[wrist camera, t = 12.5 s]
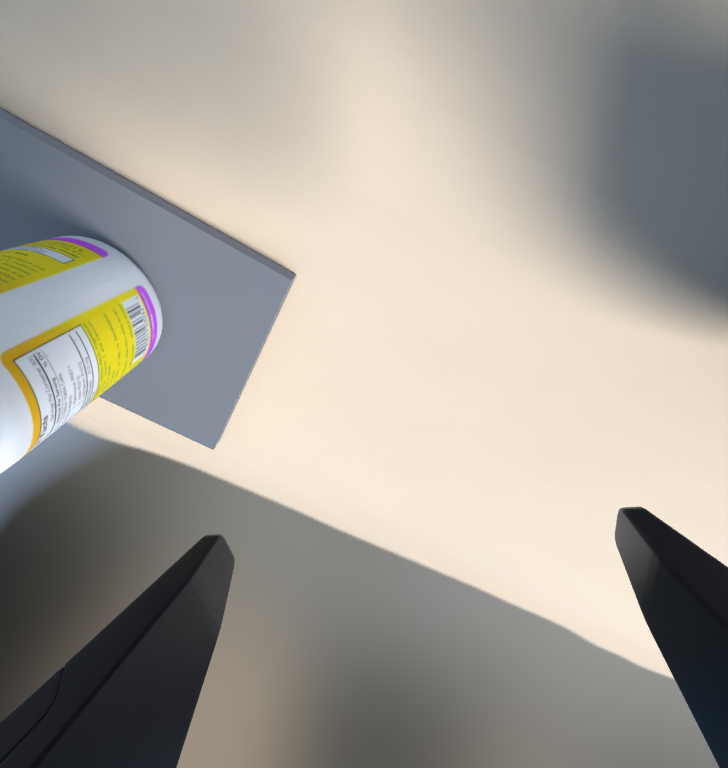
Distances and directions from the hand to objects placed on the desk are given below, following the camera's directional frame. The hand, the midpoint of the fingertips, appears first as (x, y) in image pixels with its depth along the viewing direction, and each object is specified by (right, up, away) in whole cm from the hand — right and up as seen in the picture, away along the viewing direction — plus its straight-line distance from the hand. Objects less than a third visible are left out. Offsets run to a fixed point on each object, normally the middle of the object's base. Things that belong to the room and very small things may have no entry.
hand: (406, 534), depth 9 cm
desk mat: (-14, +8, +12) cm, 20 cm away
